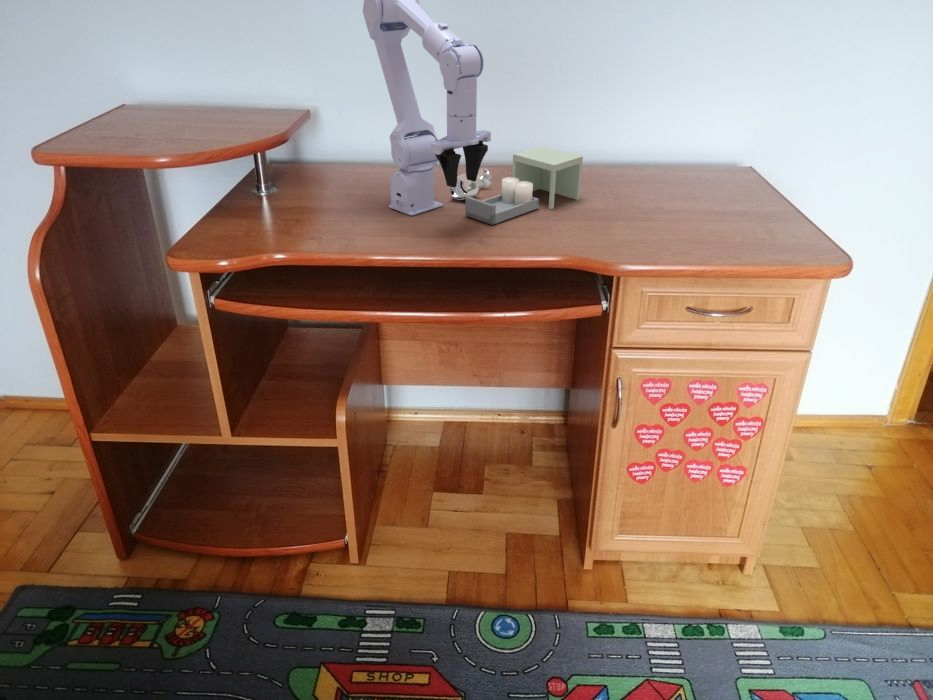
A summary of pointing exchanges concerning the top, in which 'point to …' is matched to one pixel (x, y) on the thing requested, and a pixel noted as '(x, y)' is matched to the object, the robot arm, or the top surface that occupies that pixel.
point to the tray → (503, 202)
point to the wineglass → (470, 184)
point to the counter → (549, 171)
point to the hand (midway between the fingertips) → (461, 183)
